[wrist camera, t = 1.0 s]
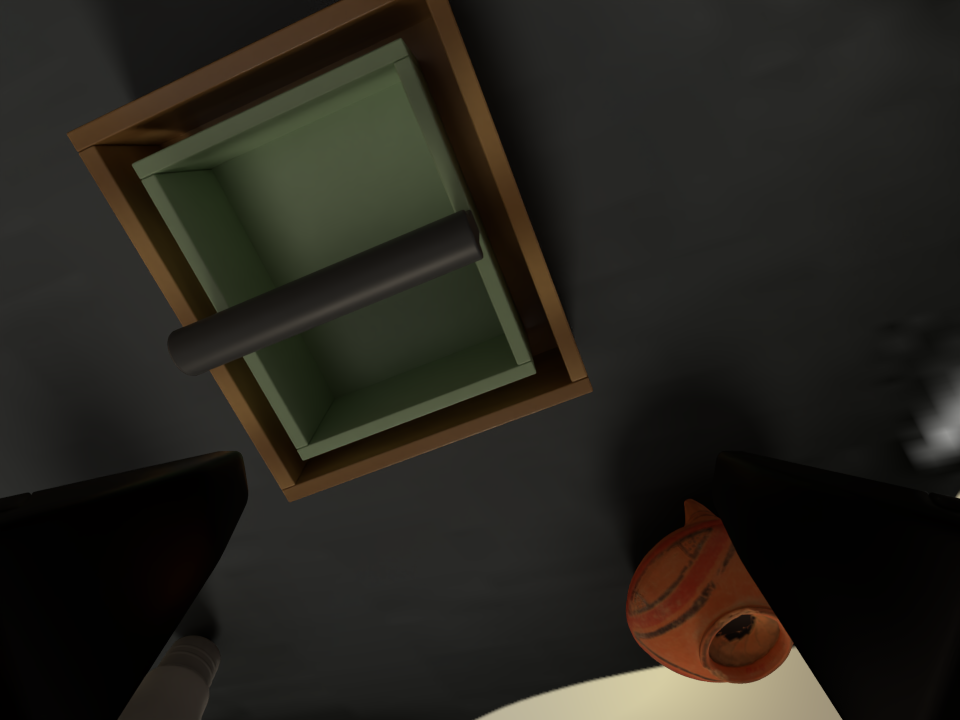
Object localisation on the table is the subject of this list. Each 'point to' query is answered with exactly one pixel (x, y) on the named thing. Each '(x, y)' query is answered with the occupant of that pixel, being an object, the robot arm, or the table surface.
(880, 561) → the robot arm
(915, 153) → the table surface
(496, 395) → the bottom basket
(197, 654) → the lightbulb
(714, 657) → the pot
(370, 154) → the top basket
